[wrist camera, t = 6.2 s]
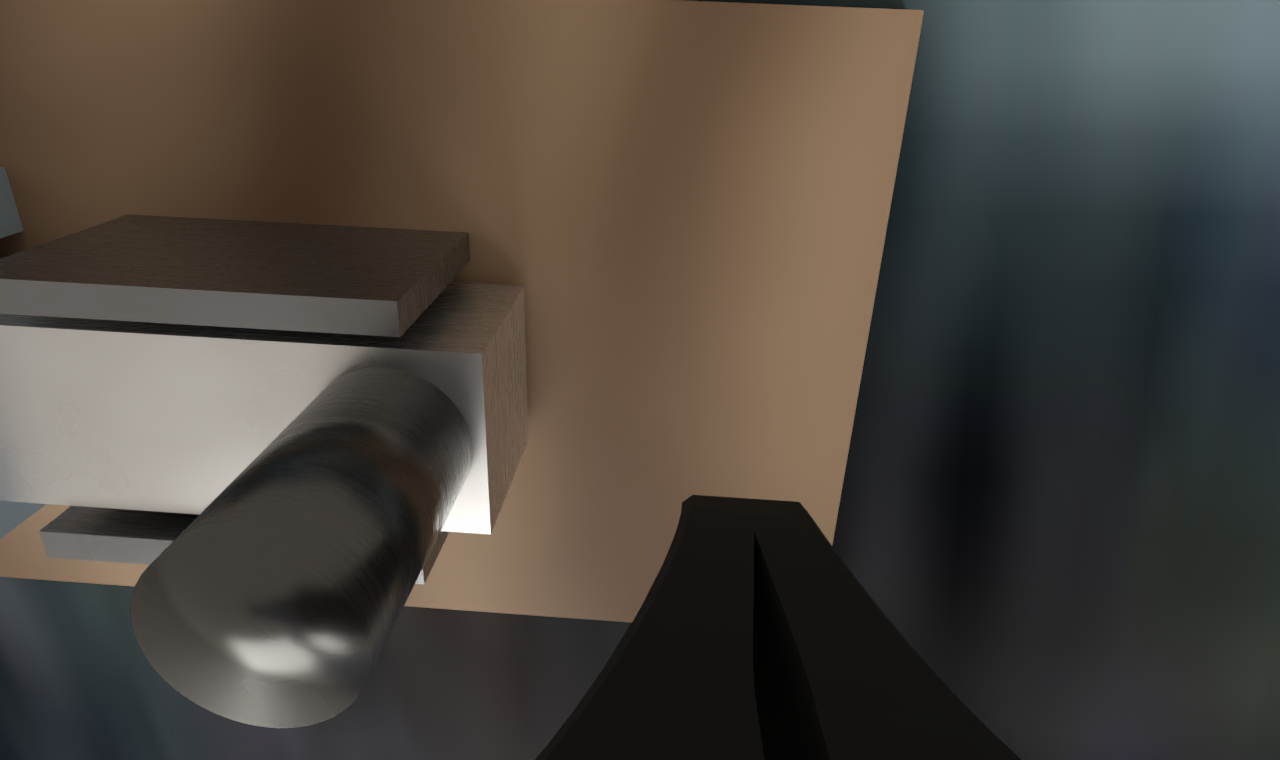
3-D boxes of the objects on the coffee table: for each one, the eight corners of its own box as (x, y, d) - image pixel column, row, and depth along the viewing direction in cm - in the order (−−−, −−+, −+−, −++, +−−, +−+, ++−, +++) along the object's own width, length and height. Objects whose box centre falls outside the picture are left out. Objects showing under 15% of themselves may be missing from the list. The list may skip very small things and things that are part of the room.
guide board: (907, 10, 13) (923, 10, 12) (810, 603, 18) (816, 636, 17) (-288, -38, 13) (-358, -42, 12) (-52, 542, 18) (-91, 569, 17)
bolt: (524, 285, 13) (373, 524, 7) (528, 439, 15) (403, 757, 8) (-146, 248, 14) (-847, 440, 8) (-87, 400, 15) (-646, 673, 9)
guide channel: (469, 232, 13) (396, 301, 10) (481, 464, 15) (424, 584, 12) (128, 213, 14) (-49, 275, 10) (183, 444, 16) (47, 557, 12)
